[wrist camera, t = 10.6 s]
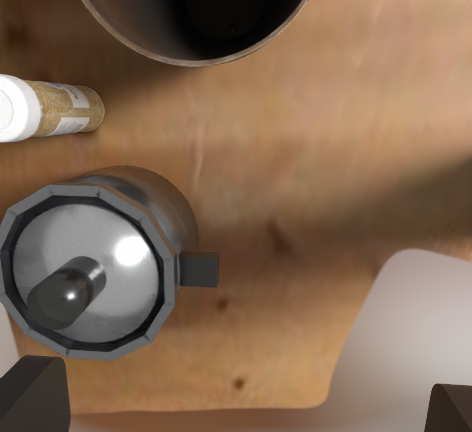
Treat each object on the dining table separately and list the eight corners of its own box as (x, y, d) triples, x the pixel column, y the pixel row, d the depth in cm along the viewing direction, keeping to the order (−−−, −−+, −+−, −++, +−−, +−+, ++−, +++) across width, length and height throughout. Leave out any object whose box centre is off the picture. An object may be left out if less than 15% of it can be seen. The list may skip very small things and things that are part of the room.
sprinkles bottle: (102, 84, 38) (18, 70, 26) (108, 131, 40) (31, 141, 27) (58, 86, 39) (-47, 74, 26) (65, 133, 40) (-32, 144, 27)
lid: (162, 208, 31) (138, 231, 25) (159, 343, 34) (137, 390, 28) (15, 195, 31) (-42, 214, 26) (25, 328, 35) (-23, 372, 29)
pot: (228, 168, 40) (213, 190, 29) (226, 303, 44) (212, 367, 33) (26, 162, 41) (-59, 181, 30) (42, 293, 45) (-29, 351, 34)
